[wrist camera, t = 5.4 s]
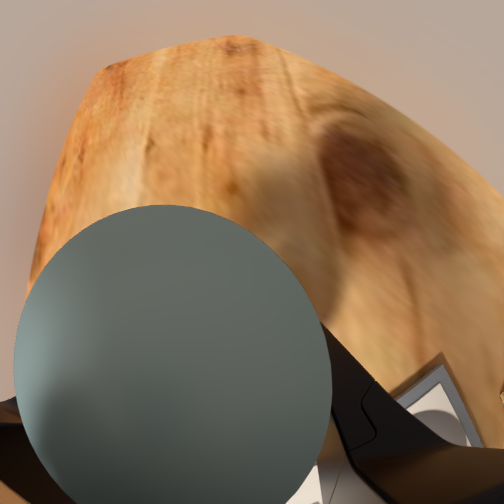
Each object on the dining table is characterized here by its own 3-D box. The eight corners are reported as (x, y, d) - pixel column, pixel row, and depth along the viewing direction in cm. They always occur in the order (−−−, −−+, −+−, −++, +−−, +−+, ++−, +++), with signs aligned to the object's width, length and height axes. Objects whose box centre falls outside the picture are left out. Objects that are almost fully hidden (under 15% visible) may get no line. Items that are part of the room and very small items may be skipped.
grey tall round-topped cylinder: (235, 446, 14) (86, 581, 2) (185, 351, 16) (-22, 280, 4) (336, 394, 14) (471, 458, 2) (280, 299, 16) (237, 107, 5)
